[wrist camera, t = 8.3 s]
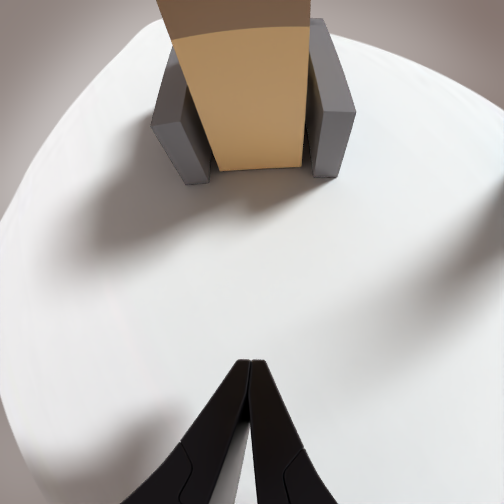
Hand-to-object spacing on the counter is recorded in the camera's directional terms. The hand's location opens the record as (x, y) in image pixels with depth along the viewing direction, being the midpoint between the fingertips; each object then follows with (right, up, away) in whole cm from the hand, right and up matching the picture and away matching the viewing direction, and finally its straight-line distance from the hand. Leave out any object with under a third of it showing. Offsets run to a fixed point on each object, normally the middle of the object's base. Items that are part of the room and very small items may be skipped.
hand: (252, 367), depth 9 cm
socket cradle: (0, +12, +10) cm, 16 cm away
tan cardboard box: (0, +11, +10) cm, 15 cm away
